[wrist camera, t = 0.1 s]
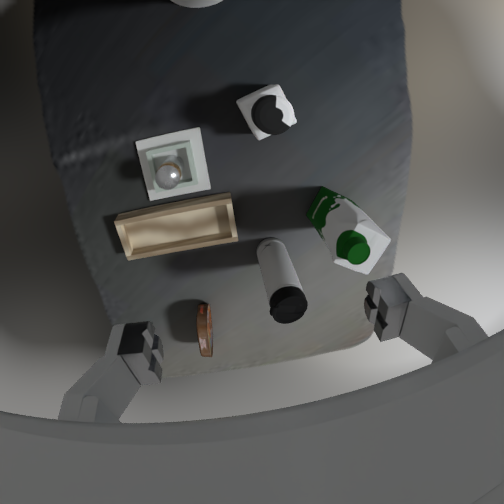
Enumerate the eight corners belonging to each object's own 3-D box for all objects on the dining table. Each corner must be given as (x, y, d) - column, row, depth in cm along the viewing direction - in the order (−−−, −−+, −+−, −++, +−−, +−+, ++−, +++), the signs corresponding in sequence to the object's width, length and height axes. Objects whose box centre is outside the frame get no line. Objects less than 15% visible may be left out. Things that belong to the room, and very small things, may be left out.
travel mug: (258, 235, 64) (275, 296, 47) (288, 239, 65) (314, 299, 48) (251, 260, 67) (266, 325, 50) (280, 263, 68) (303, 327, 51)
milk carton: (320, 180, 59) (363, 224, 42) (354, 197, 62) (402, 244, 45) (300, 216, 63) (332, 272, 46) (334, 231, 65) (373, 286, 48)
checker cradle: (136, 141, 50) (132, 143, 48) (199, 127, 51) (199, 129, 48) (150, 199, 57) (148, 204, 54) (210, 187, 57) (210, 192, 55)
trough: (118, 214, 57) (114, 221, 54) (230, 191, 58) (231, 198, 55) (131, 251, 62) (128, 260, 59) (236, 232, 63) (238, 241, 60)
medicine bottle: (253, 134, 53) (263, 147, 42) (235, 100, 49) (241, 105, 39) (287, 117, 52) (306, 127, 41) (271, 83, 48) (286, 84, 38)
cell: (160, 157, 52) (152, 168, 45) (181, 152, 52) (177, 163, 45) (164, 177, 54) (158, 192, 47) (186, 173, 54) (182, 187, 47)
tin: (213, 339, 78) (214, 363, 71) (201, 339, 78) (201, 364, 71) (209, 296, 71) (209, 321, 63) (195, 296, 70) (195, 321, 63)
